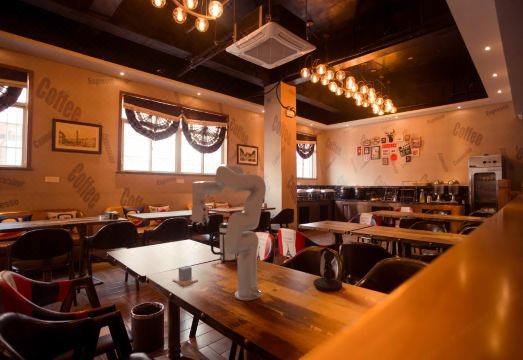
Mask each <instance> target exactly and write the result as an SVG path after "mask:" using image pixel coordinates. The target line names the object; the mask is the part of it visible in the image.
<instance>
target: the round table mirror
mask: <svg viewBox="0 0 523 360" xmlns="http://www.w3.org/2000/svg"><path fill="white" fill-rule="evenodd" d="M319 255H320V256H321V258H320V266H319V267H320V268H319V269H320V275H321V276H322V277H321V276H320V277H317V278H316V279H314V280H313V286H315V287H316V288H318V289H320V292H323V290H327V291H334V290H335V291H336V290H339V291H341V290H342V288H343V282H342V281H341V280H340V279H337V278H335V276H336V272H335V270H333V269H332V268H333V265H332V264H333V263H332V262H333V261H334V259H335V253H334V252H333V251H332V250H330V249H329V248H328V247H324V248H322V249H321V250H320V251H319Z"/></svg>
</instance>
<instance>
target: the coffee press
mask: <svg viewBox="0 0 523 360" xmlns="http://www.w3.org/2000/svg"><path fill="white" fill-rule="evenodd" d="M228 220H229V218H226V221H224V222H221V223H220V224H219V226H218V227H219V231H215V232H213V233H212V234H211V236H210V251H211V253H212V254H213V255H218V256H219V260H221V263H222V264H225V263H226V261H235V262H237V261H238V254H230V253H228V252H227V250H226V248H225V237H226V231H227V225H228ZM216 235H219V251H218V252H217V251H215V250H214V238H215V236H216Z"/></svg>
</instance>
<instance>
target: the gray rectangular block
mask: <svg viewBox="0 0 523 360" xmlns="http://www.w3.org/2000/svg"><path fill="white" fill-rule="evenodd" d="M192 269H193V268H192V266H188V265H184V266H181V267H178V277H179V280H181V281H187V280H190V279H192V274H193V273H192V271H193V270H192Z"/></svg>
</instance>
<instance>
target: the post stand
mask: <svg viewBox="0 0 523 360" xmlns="http://www.w3.org/2000/svg"><path fill="white" fill-rule="evenodd" d="M172 281H173V282H175V283H177V284H178V285H181V286H187V285H190V284H194V283H197V282H199V279H197V278H195V277H192V279H190V280H187V281H181V280H179V276H178V277H175V278H172Z"/></svg>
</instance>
